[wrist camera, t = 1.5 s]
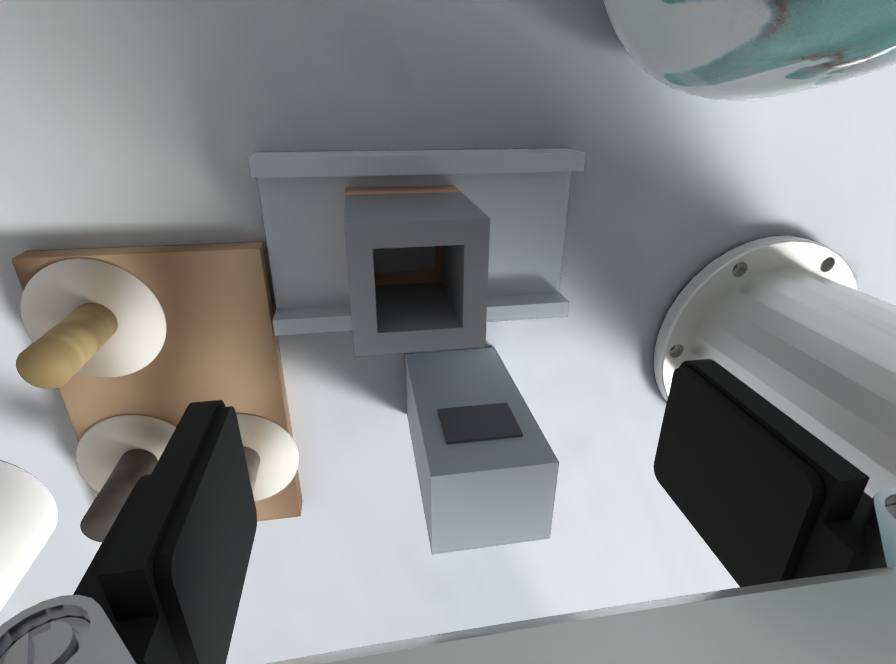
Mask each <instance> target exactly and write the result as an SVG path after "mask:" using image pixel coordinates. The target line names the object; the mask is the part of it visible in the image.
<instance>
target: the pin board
mask: <svg viewBox="0 0 896 664" xmlns="http://www.w3.org/2000/svg"><path fill="white" fill-rule="evenodd" d="M12 262H13V265H14V267H15V270H16V273H17V276H18V278H19V281H20V284H21V287H22V289H23V294H22V298H21V304H20V311H21V318H22V322H23V325H24V327H25V329H26V332H27V334H28V335H29V337H30V338H31V340H32V341H33V343H32V344H31V345H30V346H29V347H27V348H26V349H25V350H24V351H22V352H21V353H20V354H19V356H18V357H17V360H16V368H17V371H18V373H19V374H20V376H21V377H22V378H23V379H24V380H25V381H27V382H28V383H30V384H31V385H33V386H36V387H39V388H43V389H55V388H59V390H60V393H61V395H62V398H63V401H64V404H65V406H66V409H67V412H68V414H69V417H70V420H71V423H72V425H73V428H74V431H75V433H76V436H77V439H78V442H79V444H78V446H77V450H76V464H77V467H78V470H79V472H80V474H81V476H82V477H83V479H84V480H85V482H86V483H87V484H88V485H89V486H90V487H91V488H92V489H94V490H95V491H96V492H97V493H98V495H97V497H96V498H95V500H94V502H93V503H92V505H91V506H90V508H89V510H88V511H87V513H86V514H85V516H84V518H83V519H82V521H81V525H80V527H81V530H82V532H83V534H84V535H85V536H87V537H88V538H90V539H92V540H94V541H98V542H103V541H104V539H105V537H106V535H107V534H108V532H109V530H110V528H111V527H112V525H113V523H114V521H115V519H116V518H117V516H118V514H119V512H120V510H121V509H122V507H123V505H124V503H125V502H126V500H127V498H128V496H129V494H130V493H131V491H132V489H133V487H134V486H135V484H136V482H137V481H138V480H139V478H140V477H142V476H144V475H147V474H152V472H153V470H154V468H155V466H156V464H157V462H158V460H159V459H160V457H161V455H162V453H163V451H164V449H165V447H166V445H167V444H168V442H169V440H170V438H171V436H172V434H173V432H174V431H175V429H176V427H177V425H178V423H179V421H180V419H181V417H182V416H183V414H184V412H185V410H186V408H187V406H188V405H189V404H190V403H192V402H201V401H213V400H222V401H223V402H224V404H225V407H229V406H233V407H234V408H235V411H236V415H237V420H238V424H239V429H240V434H241V439H242V443H243V448H244V453H245V458H246V463H247V467H248V472H249V477H250V482H251V486H252V491H253V496H254V501H255V505H256V511H257V521H265V520H273V519H281V518H290V517H298V516H301V509H302V496H301V489H300V483H299V476H298V469H297V468H298V463H299V453H298V448H297V446H296V443H295V441H294V440H293V436H292V429H291V423H290V416H289V409H288V403H287V396H286V389H285V383H284V376H283V369H282V363H281V356H280V349H279V343H278V336H275V332H274V326H273V318H274V309H273V303H272V296H271V289H270V283H269V276H268V269H267V263H266V256H265V249H264V243H263V242H243V243H218V244H192V245H166V246H140V247H115V248H89V249H63V250H37V251H26V252H24V253H22V254H20V255H18V256H16V257H14V258H12Z"/></svg>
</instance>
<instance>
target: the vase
mask: <svg viewBox="0 0 896 664" xmlns="http://www.w3.org/2000/svg"><path fill="white" fill-rule="evenodd" d="M604 4H605V7H606V11H607V14H608V16H609V19H610V22H611V24H612V26H613V28H614V30H615V32H616V34H617V36H618V38H619V40H620V41H621V43H622V44H623V46H624V48H625V49H626V50H627V51H628V53H629V54H630V55H631V56H632V58H633V59H634V60H635V61H636V62H637V63H638V64H639V65H640V66H641V67H642V68H643V69H644V70H645V71H647V72H648V73H649V74H650V75H652V76H653V77H654V78H656V79H657V80H659V81H660V82H662V83H663V84H665V85H667V86H669V87H670V88H673V89H676V90H679V91H681V92H684V93H687V94H690V95H694V96H698V97H703V98H709V99H715V100H752V99H761V98H770V97H776V96H781V95H787V94H792V93H797V92H802V91H806V90H811V89H815V88H819V87H823V86H827V85H831V84H835V83H839V82H842V81H845V80H849V79H852V78H855V77H858V76H862V75H865V74H868V73H871V72H874V71H877V70H881V69H883V68H886V67H889V66H891V65H894V64H896V0H604Z"/></svg>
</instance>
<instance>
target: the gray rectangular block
mask: <svg viewBox="0 0 896 664" xmlns="http://www.w3.org/2000/svg"><path fill="white" fill-rule="evenodd" d="M405 364H406V393H407V417H408V422H409V428H410V434H411V439H412V445H413V451H414V456H415V462H416V467H417V473H418V479H419V484H420V490H421V496H422V501H423V507H424V513H425V518H426V524H427V530H428V535H429V541H430V547H431V552H432V554H439V553H446V552H454V551H461V550H468V549H476V548H483V547H490V546H498V545H505V544H512V543H520V542H527V541H534V540H542V539H549V538H550V533H551V524H552V516H553V508H554V500H555V491H556V483H557V475H558V467H559V461H558V460H557V458H556V456H555V454H554V453H553V451H552V449H551V447H550V445H549V444H548V442H547V440H546V438H545V437H544V435H543V433H542V431H541V429H540V428H539V426H538V424H537V422H536V421H535V419H534V417H533V415H532V413H531V412H530V410H529V408H528V406H527V404H526V403H525V401H524V399H523V397H522V396H521V394H520V392H519V390H518V388H517V387H516V385H515V383H514V381H513V380H512V378H511V376H510V374H509V372H508V371H507V369H506V367H505V365H504V363H503V362H502V360H501V358H500V356H499V355H498V353H497V351H496V349H495V347H490V348H476V349H463V350H449V351H436V352H423V353H409V354H405Z"/></svg>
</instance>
